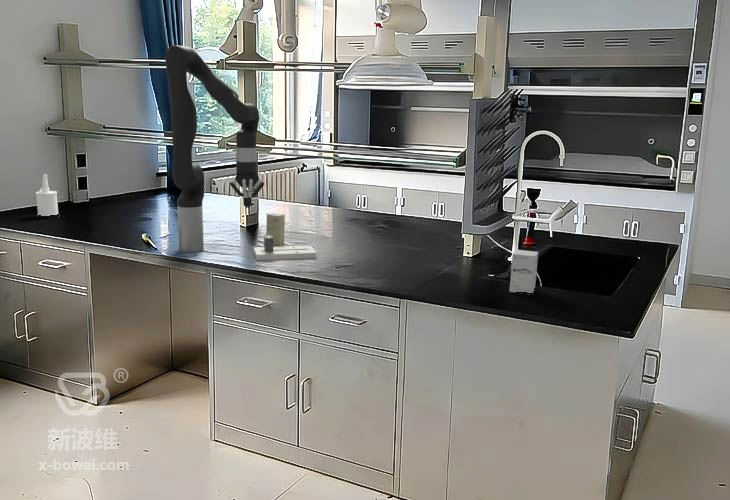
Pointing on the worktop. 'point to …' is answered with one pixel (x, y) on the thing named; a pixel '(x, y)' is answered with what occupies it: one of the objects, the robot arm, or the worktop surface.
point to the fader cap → (268, 243)
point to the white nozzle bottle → (46, 199)
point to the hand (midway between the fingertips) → (247, 207)
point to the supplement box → (523, 271)
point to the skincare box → (276, 227)
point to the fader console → (285, 252)
